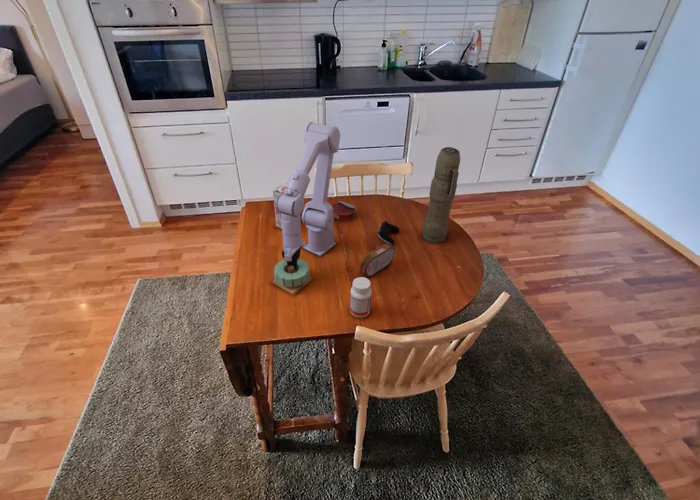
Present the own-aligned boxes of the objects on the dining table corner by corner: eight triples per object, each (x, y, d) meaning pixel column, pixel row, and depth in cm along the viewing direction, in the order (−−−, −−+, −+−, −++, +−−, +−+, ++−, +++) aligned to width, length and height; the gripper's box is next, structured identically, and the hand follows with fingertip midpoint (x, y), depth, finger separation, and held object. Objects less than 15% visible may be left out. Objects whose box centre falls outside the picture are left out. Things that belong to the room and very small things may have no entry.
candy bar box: (284, 231, 151) (281, 193, 142) (275, 227, 154) (271, 189, 144) (304, 219, 159) (302, 182, 149) (294, 215, 161) (292, 178, 151)
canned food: (332, 221, 167) (329, 197, 165) (355, 218, 167) (352, 194, 166) (332, 223, 156) (329, 198, 154) (357, 220, 156) (354, 194, 155)
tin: (388, 258, 140) (390, 238, 135) (395, 262, 138) (397, 242, 133) (358, 277, 131) (359, 256, 126) (365, 281, 129) (367, 261, 124)
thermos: (434, 226, 157) (450, 141, 136) (452, 242, 149) (472, 154, 128) (415, 231, 154) (428, 145, 133) (433, 247, 146) (450, 158, 125)
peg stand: (291, 269, 133) (290, 255, 130) (311, 280, 129) (311, 265, 126) (272, 283, 127) (270, 269, 123) (293, 295, 123) (292, 280, 119)
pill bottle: (359, 300, 122) (360, 272, 115) (374, 311, 119) (377, 282, 112) (345, 311, 118) (346, 282, 111) (360, 321, 115) (362, 293, 108)
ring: (290, 261, 133) (290, 254, 131) (315, 273, 128) (315, 266, 126) (267, 277, 126) (267, 270, 124) (293, 291, 121) (293, 284, 119)
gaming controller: (392, 234, 156) (380, 221, 154) (400, 229, 153) (389, 216, 151) (386, 249, 147) (374, 236, 145) (395, 244, 145) (383, 230, 143)
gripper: (300, 245, 115) (302, 280, 123) (308, 218, 126) (309, 252, 135) (276, 243, 115) (279, 278, 123) (286, 217, 127) (289, 251, 135)
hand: (294, 265), depth 129 cm, fingers closed on ring, 3 cm apart
